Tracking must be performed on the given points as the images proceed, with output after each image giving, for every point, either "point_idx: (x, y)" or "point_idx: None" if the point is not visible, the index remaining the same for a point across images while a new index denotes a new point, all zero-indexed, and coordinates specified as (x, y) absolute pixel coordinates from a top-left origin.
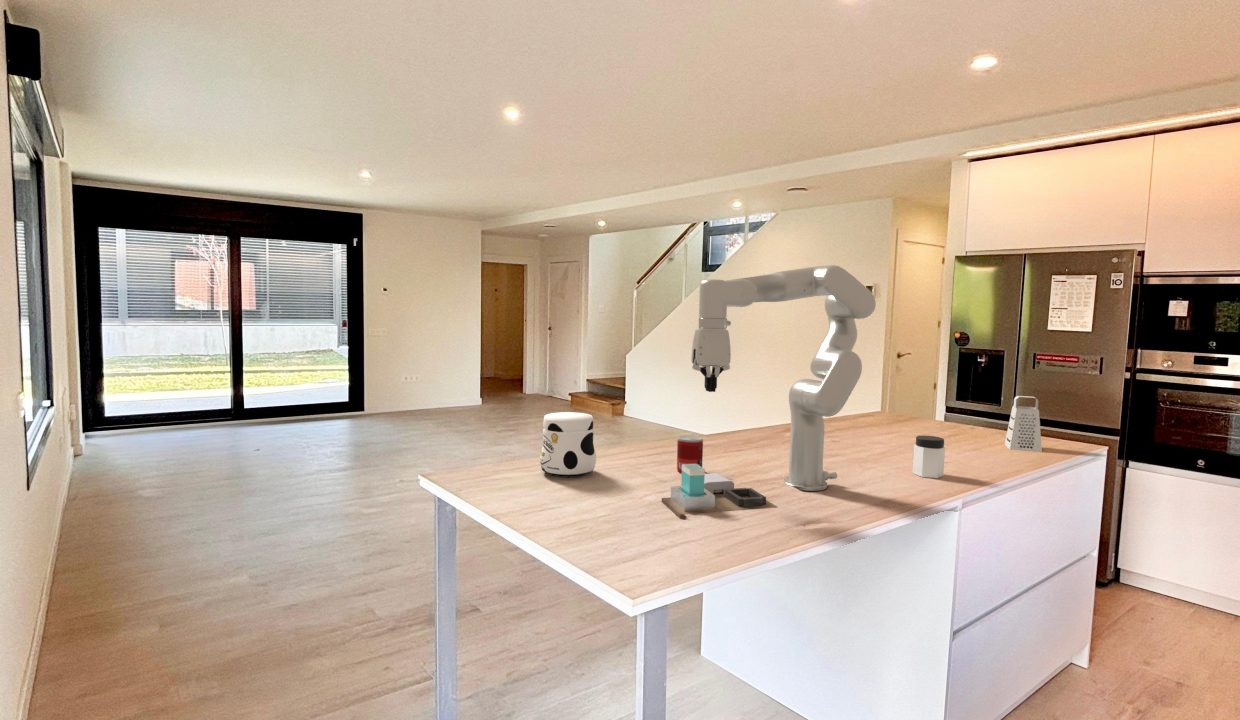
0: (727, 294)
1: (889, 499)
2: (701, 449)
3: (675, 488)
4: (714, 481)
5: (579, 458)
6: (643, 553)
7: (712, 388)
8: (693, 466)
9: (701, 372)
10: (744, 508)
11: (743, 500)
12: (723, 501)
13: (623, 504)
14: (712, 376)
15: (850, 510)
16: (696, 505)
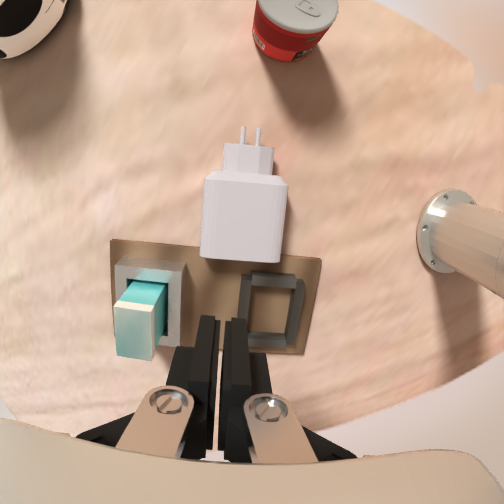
0: None
1: (483, 331)
2: (317, 39)
3: (119, 280)
4: (230, 256)
5: (3, 47)
6: (54, 407)
7: (220, 387)
8: (134, 333)
9: (109, 431)
10: None
11: None
12: (223, 299)
13: (47, 233)
14: (226, 440)
15: (405, 366)
16: None
